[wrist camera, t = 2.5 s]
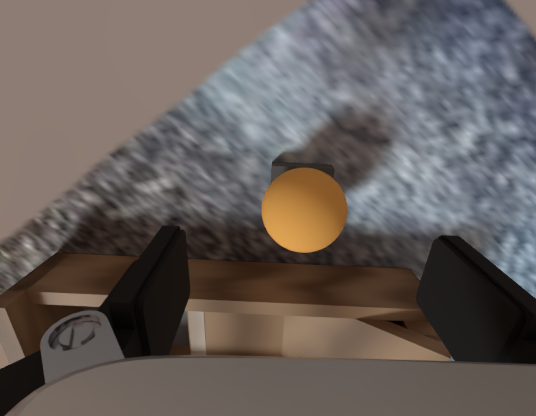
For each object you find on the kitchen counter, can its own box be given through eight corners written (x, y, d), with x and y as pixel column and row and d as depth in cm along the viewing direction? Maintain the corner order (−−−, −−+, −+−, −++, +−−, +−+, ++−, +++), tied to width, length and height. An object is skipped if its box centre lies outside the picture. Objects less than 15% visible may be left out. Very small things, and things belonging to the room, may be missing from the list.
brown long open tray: (410, 269, 22) (468, 346, 16) (385, 360, 26) (422, 452, 20) (56, 252, 22) (-36, 322, 16) (83, 345, 26) (18, 433, 20)
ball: (342, 160, 18) (365, 185, 14) (332, 230, 20) (349, 272, 16) (264, 157, 18) (261, 180, 14) (262, 226, 20) (258, 267, 16)
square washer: (331, 164, 19) (334, 168, 18) (324, 218, 21) (326, 224, 20) (272, 162, 19) (272, 165, 18) (269, 216, 21) (269, 221, 20)
